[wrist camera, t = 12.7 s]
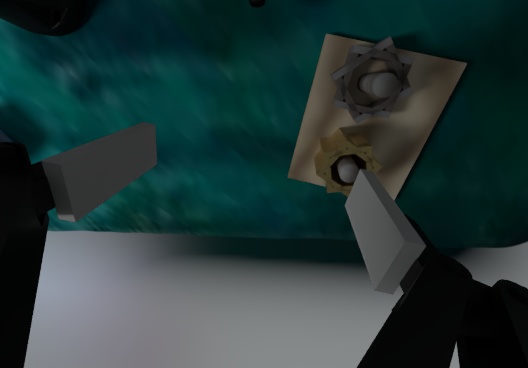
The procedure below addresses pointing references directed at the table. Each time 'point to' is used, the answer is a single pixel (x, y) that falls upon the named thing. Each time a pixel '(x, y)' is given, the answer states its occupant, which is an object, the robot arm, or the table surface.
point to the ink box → (4, 137)
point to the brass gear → (338, 147)
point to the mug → (257, 3)
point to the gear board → (375, 128)
